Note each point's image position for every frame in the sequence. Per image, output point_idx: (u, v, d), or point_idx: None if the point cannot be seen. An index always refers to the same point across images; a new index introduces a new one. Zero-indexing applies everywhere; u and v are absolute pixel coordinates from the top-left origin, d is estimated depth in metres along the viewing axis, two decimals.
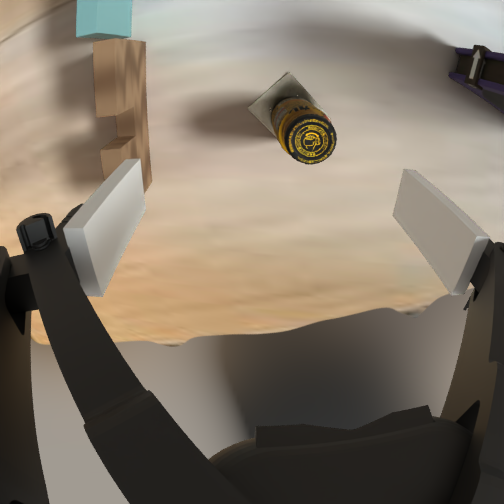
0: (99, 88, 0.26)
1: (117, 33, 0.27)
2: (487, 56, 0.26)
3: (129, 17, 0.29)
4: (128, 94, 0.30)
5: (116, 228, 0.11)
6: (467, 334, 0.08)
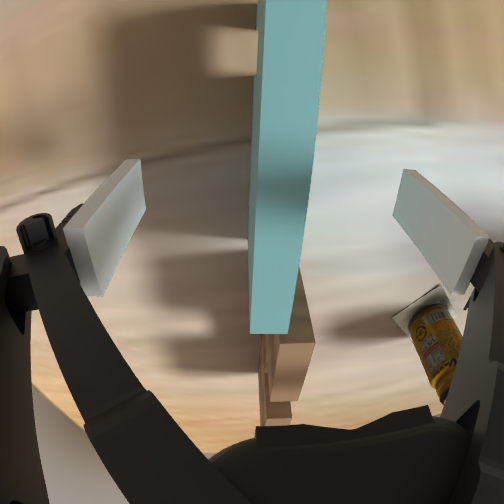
0: (280, 383, 0.23)
1: None
2: None
3: None
4: None
5: (116, 228, 0.11)
6: (467, 334, 0.08)
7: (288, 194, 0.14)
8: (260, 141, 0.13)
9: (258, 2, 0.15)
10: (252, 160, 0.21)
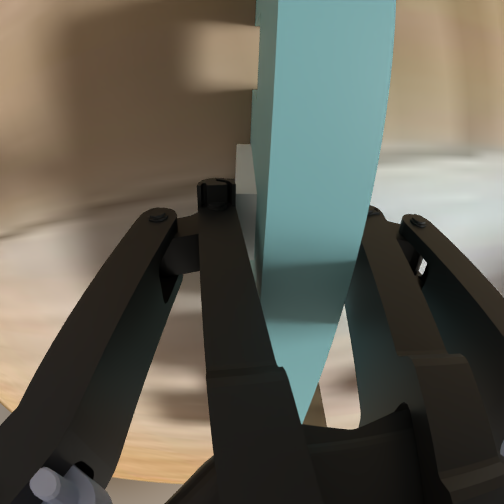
0: None
1: None
2: None
3: None
4: None
5: None
6: (352, 314, 0.09)
7: (310, 309, 0.09)
8: (267, 232, 0.07)
9: None
10: None
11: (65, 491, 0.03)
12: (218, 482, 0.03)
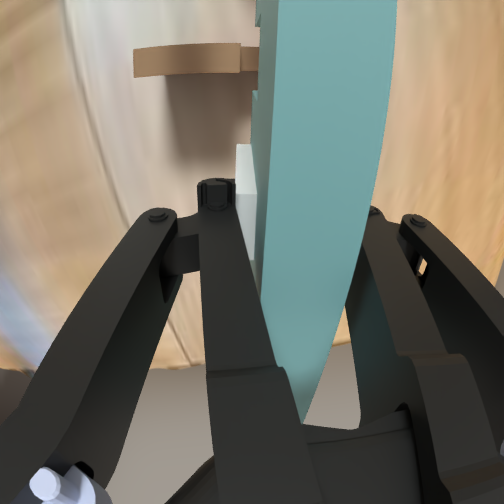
0: (198, 65, 0.21)
1: None
2: None
3: None
4: None
5: None
6: (352, 314, 0.09)
7: (310, 311, 0.09)
8: (267, 234, 0.07)
9: None
10: None
11: (65, 491, 0.03)
12: (218, 482, 0.03)
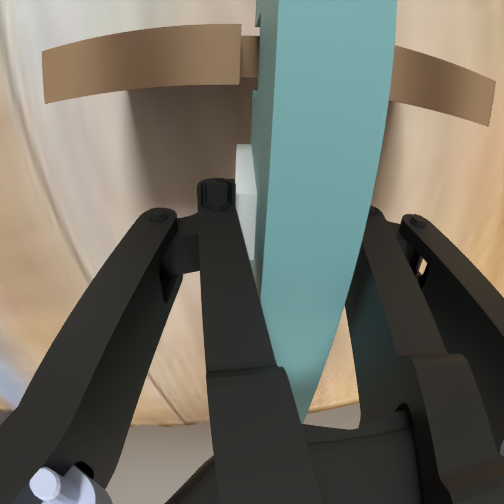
0: (156, 72, 0.10)
1: None
2: None
3: None
4: None
5: None
6: (351, 314, 0.09)
7: (310, 311, 0.09)
8: (267, 234, 0.07)
9: None
10: None
11: (65, 491, 0.03)
12: (218, 482, 0.03)
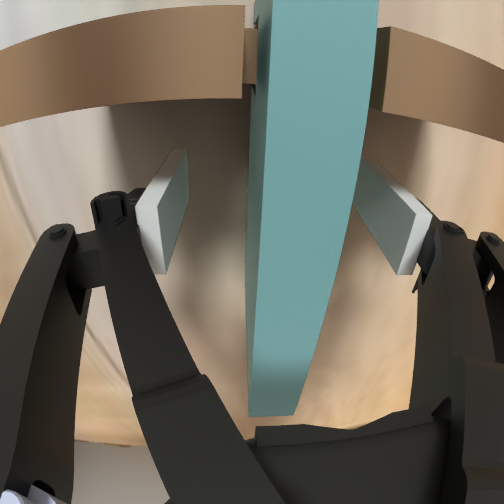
0: (117, 82, 0.07)
1: None
2: None
3: None
4: None
5: (174, 211, 0.13)
6: (421, 320, 0.09)
7: (303, 286, 0.10)
8: (263, 216, 0.08)
9: None
10: (250, 202, 0.16)
11: None
12: None
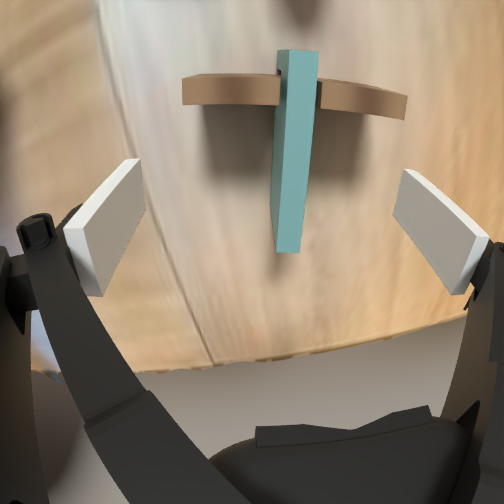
0: (242, 97, 0.25)
1: None
2: None
3: None
4: None
5: (116, 228, 0.11)
6: (467, 334, 0.08)
7: (298, 166, 0.28)
8: (285, 139, 0.26)
9: (279, 54, 0.29)
10: (276, 150, 0.34)
11: None
12: None
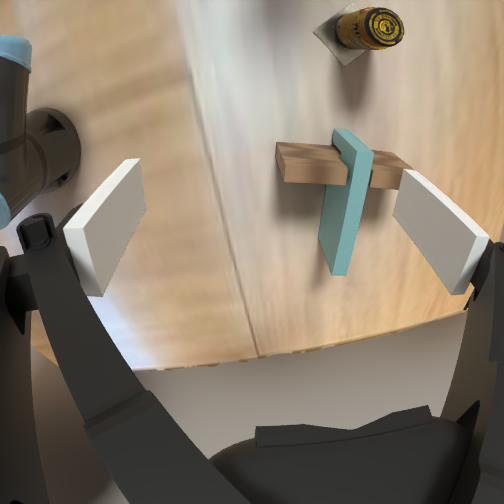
0: (323, 179, 0.40)
1: None
2: None
3: None
4: (328, 158, 0.42)
5: (116, 228, 0.11)
6: (467, 334, 0.08)
7: (353, 223, 0.43)
8: (347, 207, 0.42)
9: (338, 136, 0.44)
10: (330, 204, 0.49)
11: None
12: None
